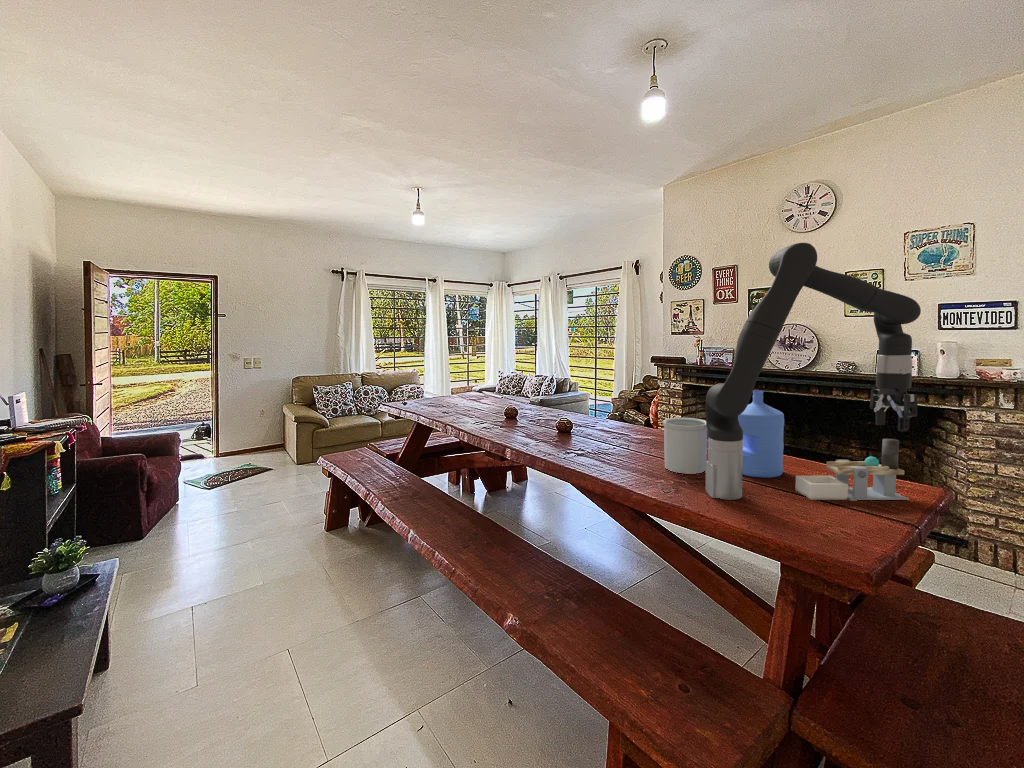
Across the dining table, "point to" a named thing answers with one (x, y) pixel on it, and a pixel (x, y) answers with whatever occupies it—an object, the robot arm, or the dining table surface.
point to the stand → (879, 491)
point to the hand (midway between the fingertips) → (891, 427)
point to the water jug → (762, 439)
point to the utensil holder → (685, 445)
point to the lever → (885, 468)
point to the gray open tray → (821, 488)
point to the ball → (871, 461)
